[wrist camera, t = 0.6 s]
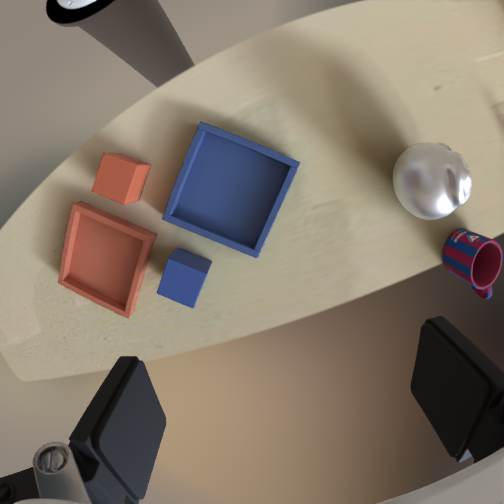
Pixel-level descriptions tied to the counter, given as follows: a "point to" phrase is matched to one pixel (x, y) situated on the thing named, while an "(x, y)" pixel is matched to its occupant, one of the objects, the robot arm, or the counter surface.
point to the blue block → (183, 277)
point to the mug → (473, 259)
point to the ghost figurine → (431, 180)
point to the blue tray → (230, 189)
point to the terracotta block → (120, 178)
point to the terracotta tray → (105, 258)
